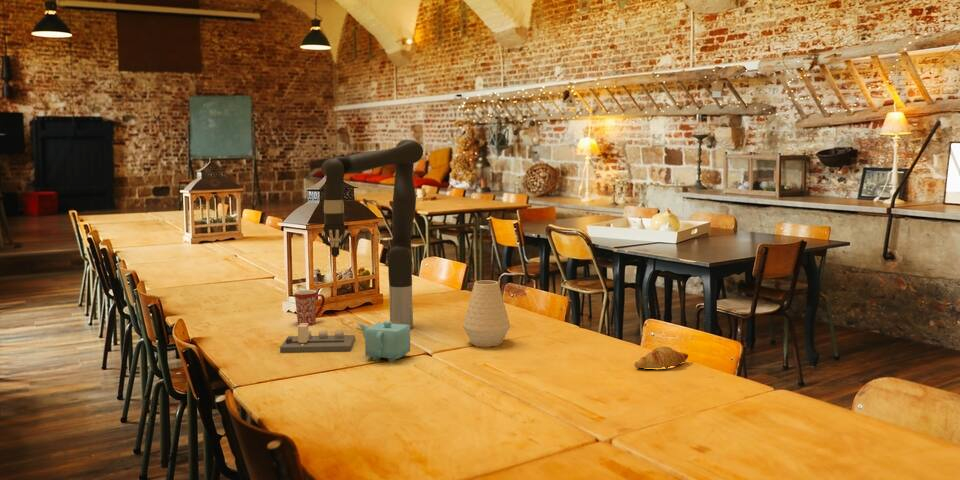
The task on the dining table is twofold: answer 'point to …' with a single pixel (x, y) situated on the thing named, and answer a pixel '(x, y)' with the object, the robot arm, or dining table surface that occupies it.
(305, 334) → the block
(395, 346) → the teapot
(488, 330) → the vase
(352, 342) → the console
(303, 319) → the mug
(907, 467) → the dining table surface
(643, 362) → the croissant
